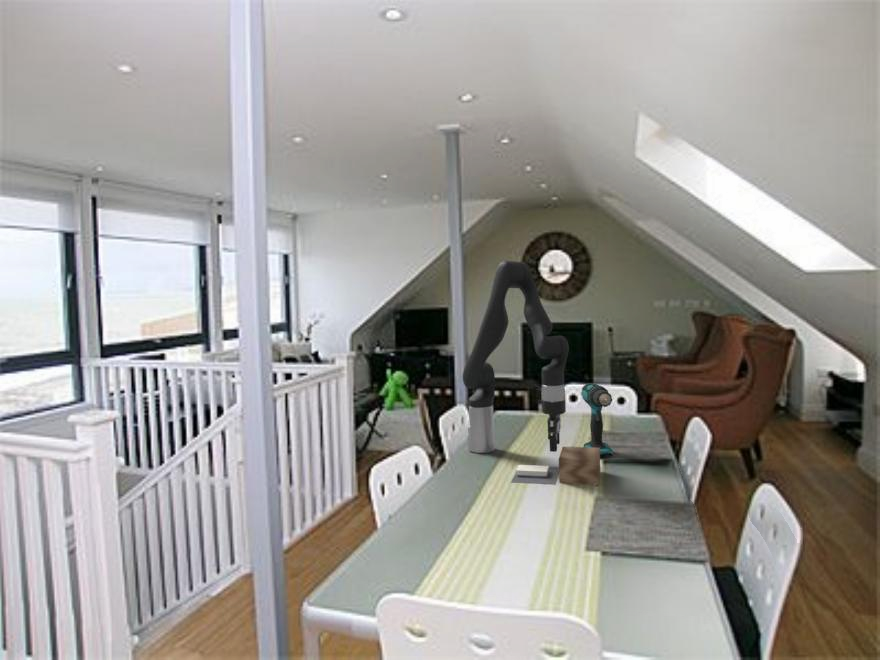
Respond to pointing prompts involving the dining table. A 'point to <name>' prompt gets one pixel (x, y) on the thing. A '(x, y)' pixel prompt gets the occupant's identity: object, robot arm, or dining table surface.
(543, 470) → the card box
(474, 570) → the dining table surface
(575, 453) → the walnut block
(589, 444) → the power drill
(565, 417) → the dining table surface
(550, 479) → the mat
